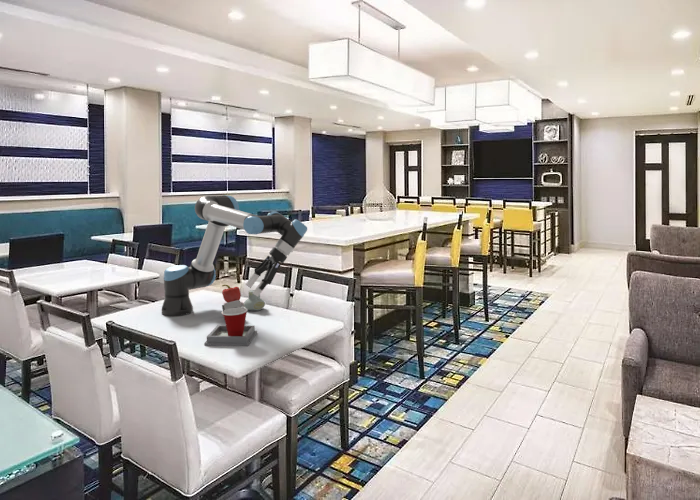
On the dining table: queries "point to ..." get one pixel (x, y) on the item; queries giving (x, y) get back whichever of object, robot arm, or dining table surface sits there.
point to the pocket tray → (230, 337)
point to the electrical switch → (231, 305)
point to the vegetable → (231, 294)
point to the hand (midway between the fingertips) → (251, 290)
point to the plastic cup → (235, 320)
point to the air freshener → (254, 302)
